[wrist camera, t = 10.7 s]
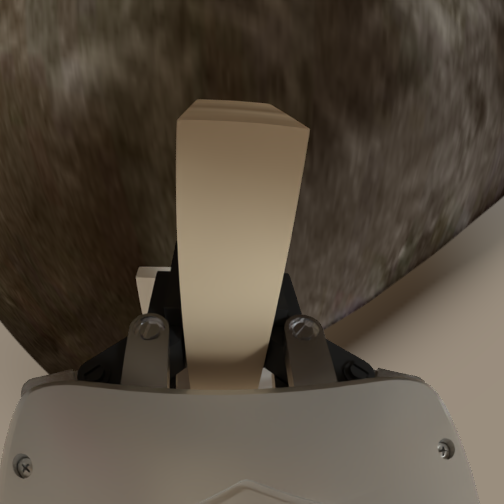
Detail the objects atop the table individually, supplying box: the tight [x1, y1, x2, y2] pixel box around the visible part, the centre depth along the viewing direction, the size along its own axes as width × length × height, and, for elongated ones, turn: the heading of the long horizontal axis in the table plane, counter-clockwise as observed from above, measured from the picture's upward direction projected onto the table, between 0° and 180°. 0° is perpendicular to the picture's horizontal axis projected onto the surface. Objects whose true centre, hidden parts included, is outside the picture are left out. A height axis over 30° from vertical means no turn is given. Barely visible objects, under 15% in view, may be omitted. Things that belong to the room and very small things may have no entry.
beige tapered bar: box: [176, 99, 310, 390], centre depth 11 cm, size 15×8×5 cm, turn 175°
